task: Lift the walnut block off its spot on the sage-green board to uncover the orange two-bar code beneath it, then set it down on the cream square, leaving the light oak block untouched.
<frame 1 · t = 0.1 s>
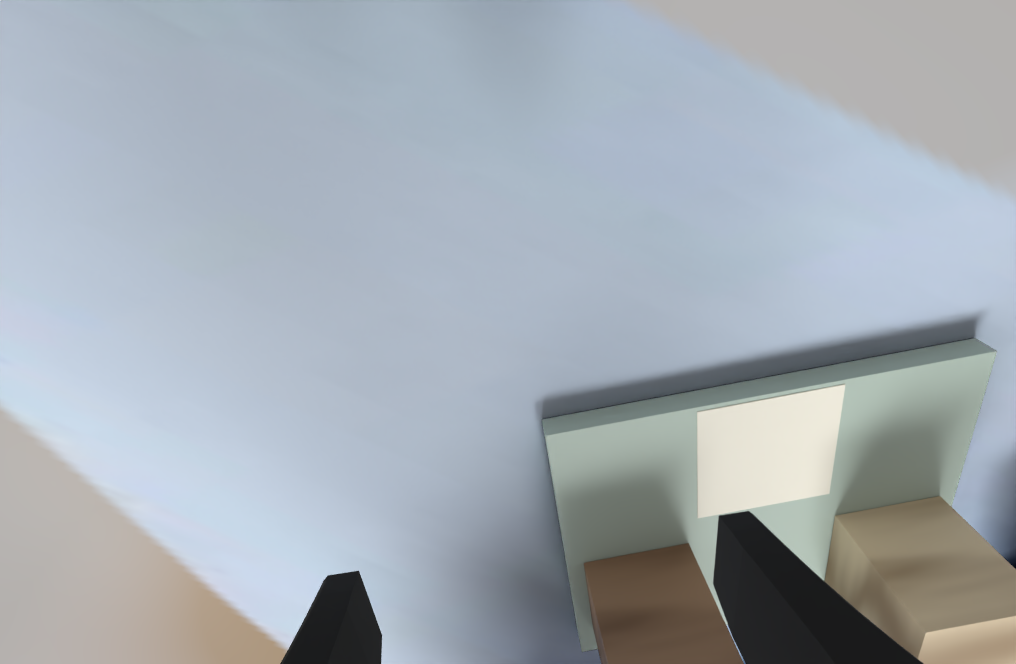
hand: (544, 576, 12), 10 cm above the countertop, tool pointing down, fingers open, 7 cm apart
oak block: (879, 542, 26), point 1 cm above the countertop, touching code board
walnut block: (638, 587, 26), point 1 cm above the countertop, touching code board
code board: (751, 504, 25), on the countertop
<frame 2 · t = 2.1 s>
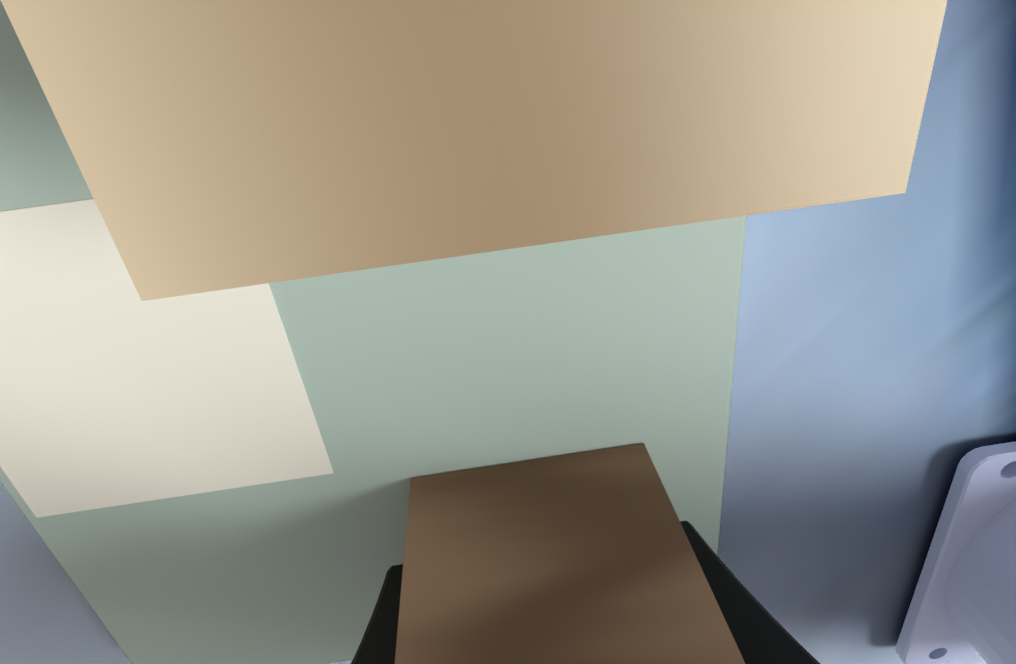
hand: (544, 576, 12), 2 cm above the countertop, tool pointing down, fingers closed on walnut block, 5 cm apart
walnut block: (538, 542, 12), point 1 cm above the countertop, touching code board, gripper
code board: (355, 311, 11), on the countertop
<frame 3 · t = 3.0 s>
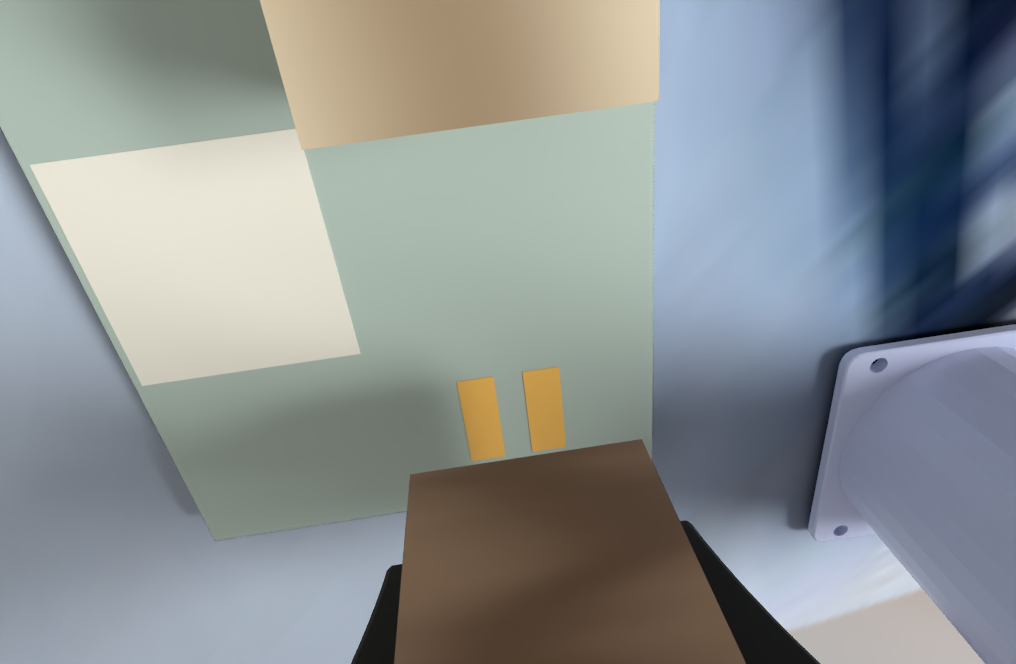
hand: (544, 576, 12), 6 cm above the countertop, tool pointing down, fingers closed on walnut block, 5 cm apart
walnut block: (537, 538, 12), point 5 cm above the countertop, touching gripper
code board: (376, 232, 14), on the countertop
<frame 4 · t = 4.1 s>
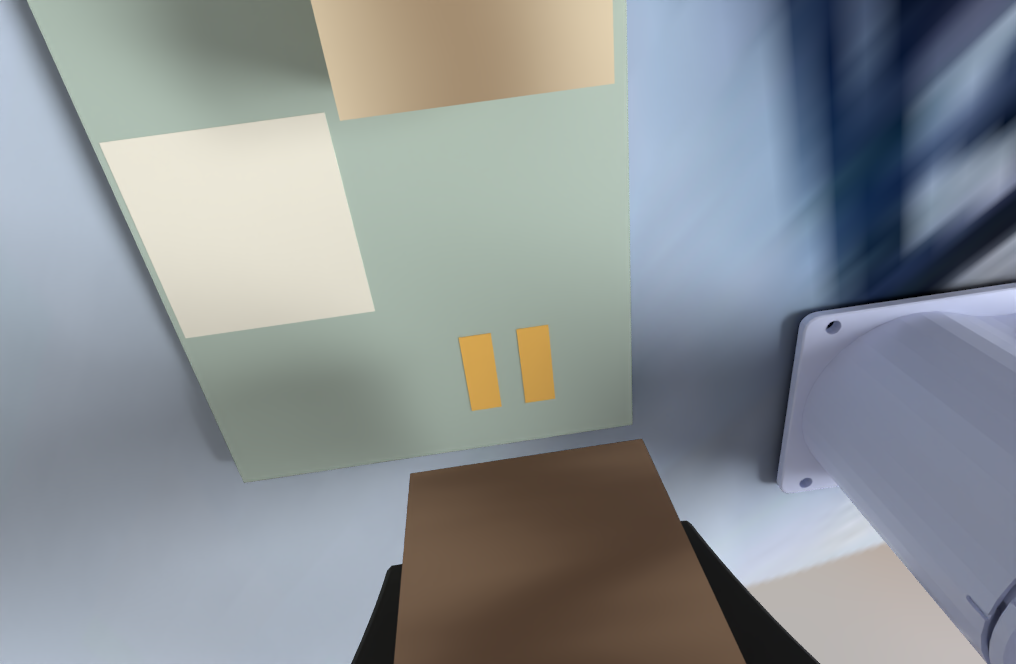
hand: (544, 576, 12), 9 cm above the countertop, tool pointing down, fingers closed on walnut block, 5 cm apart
walnut block: (537, 537, 12), point 8 cm above the countertop, touching gripper
code board: (389, 204, 17), on the countertop
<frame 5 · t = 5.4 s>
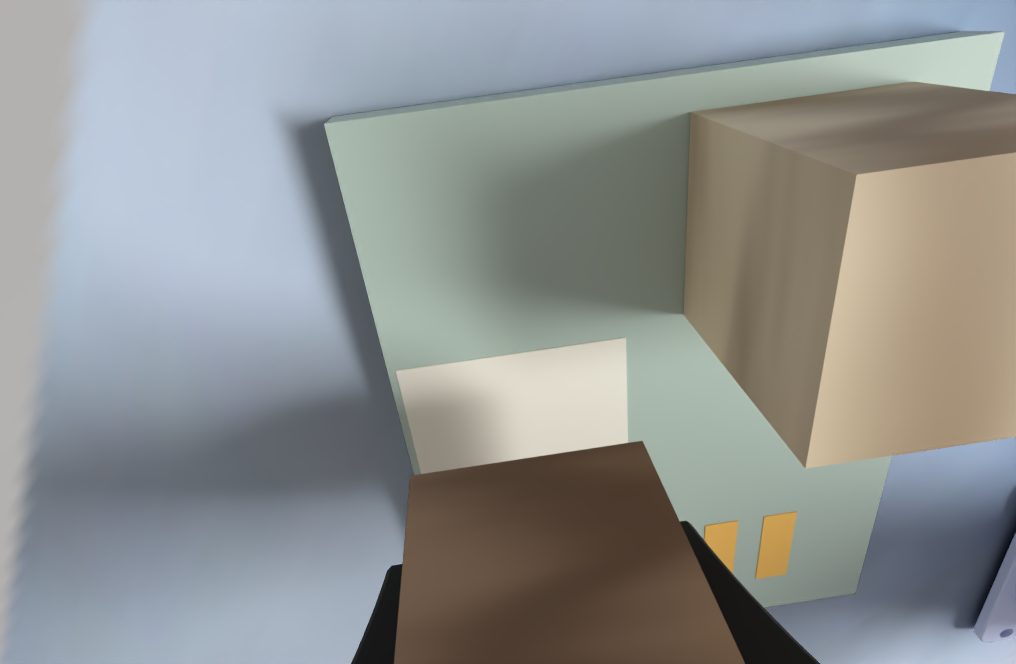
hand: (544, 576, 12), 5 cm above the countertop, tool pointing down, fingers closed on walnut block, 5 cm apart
oak block: (789, 207, 13), point 1 cm above the countertop, touching code board
walnut block: (537, 539, 12), point 4 cm above the countertop, touching gripper
code board: (651, 401, 16), on the countertop
when the fingers open (3 cm above the countertop, at t = 6.2 s): walnut block drops 1 cm, resting on code board.
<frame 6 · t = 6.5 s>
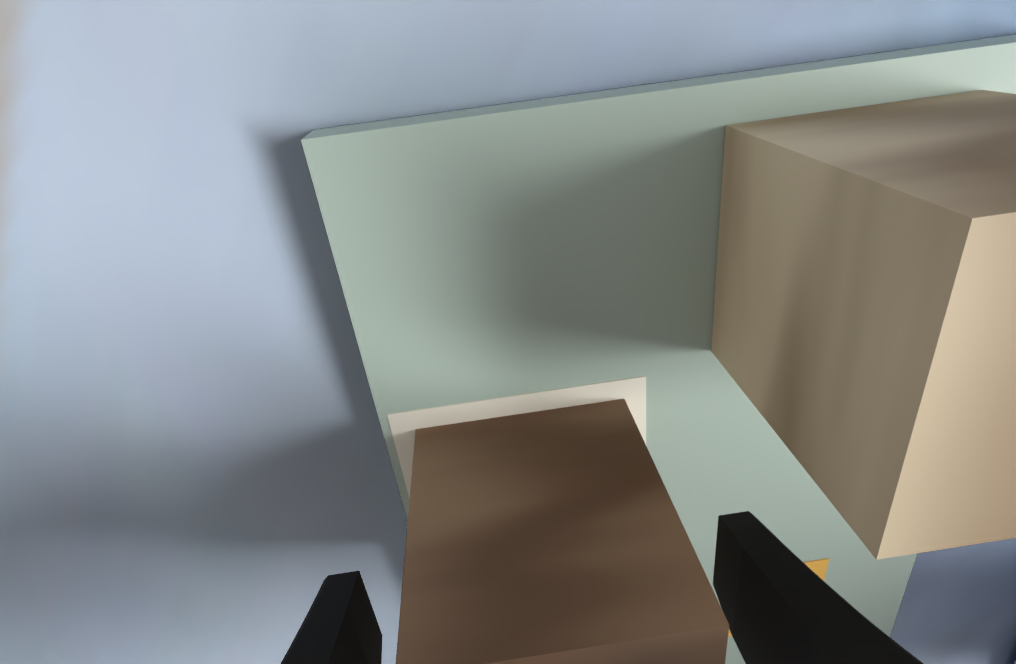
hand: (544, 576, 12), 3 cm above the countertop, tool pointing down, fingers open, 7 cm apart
oak block: (833, 232, 11), point 1 cm above the countertop, touching code board
walnut block: (530, 491, 14), point 1 cm above the countertop, touching code board
code board: (670, 440, 15), on the countertop
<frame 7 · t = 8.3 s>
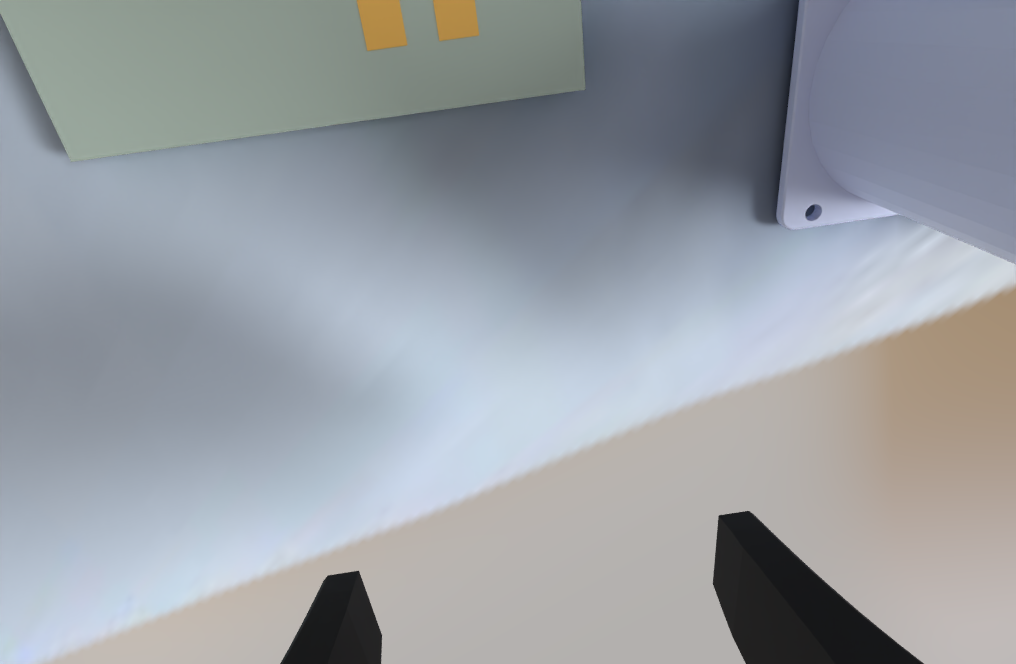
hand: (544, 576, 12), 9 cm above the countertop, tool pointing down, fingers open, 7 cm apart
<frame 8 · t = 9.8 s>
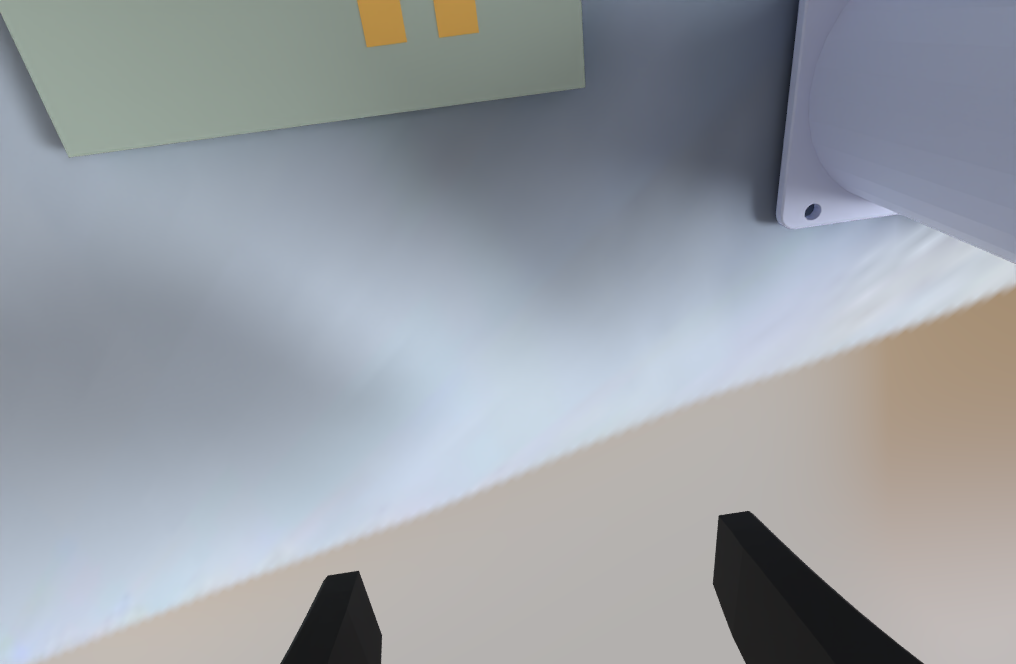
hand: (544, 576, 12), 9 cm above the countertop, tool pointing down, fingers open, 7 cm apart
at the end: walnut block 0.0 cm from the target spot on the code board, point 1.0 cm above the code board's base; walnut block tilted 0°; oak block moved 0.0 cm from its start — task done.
